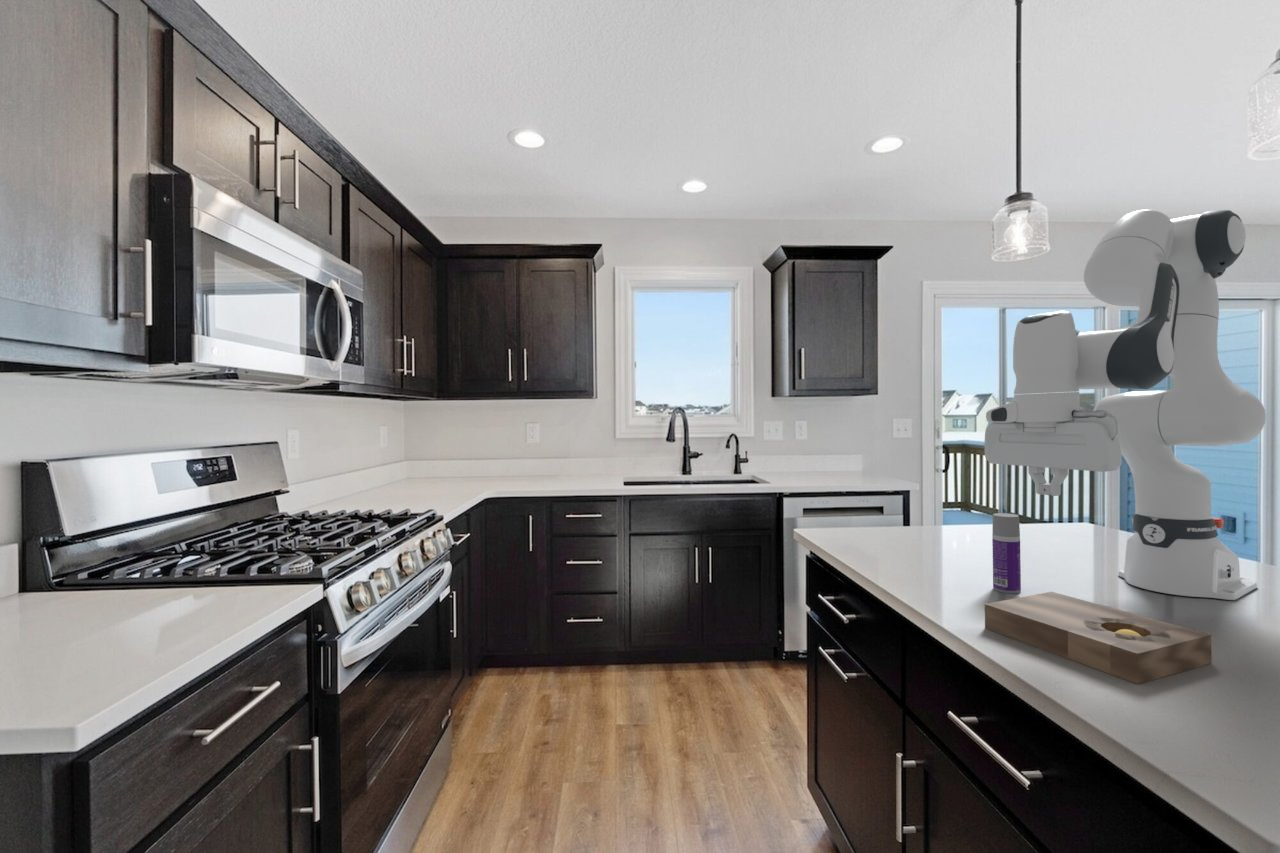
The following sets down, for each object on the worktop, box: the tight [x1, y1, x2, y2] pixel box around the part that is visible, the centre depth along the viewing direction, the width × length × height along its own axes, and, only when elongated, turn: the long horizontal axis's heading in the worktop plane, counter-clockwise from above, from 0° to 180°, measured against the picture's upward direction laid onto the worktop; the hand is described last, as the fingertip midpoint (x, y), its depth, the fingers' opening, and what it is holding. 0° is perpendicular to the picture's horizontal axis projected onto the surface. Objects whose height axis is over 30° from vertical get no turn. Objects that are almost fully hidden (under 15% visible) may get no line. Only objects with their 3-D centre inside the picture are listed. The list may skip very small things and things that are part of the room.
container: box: [991, 512, 1022, 595], centre depth 116 cm, size 5×5×15 cm
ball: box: [1115, 629, 1141, 636], centre depth 84 cm, size 4×4×4 cm
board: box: [984, 591, 1213, 685], centre depth 89 cm, size 16×22×4 cm
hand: (1048, 494), depth 96 cm, fingers closed
